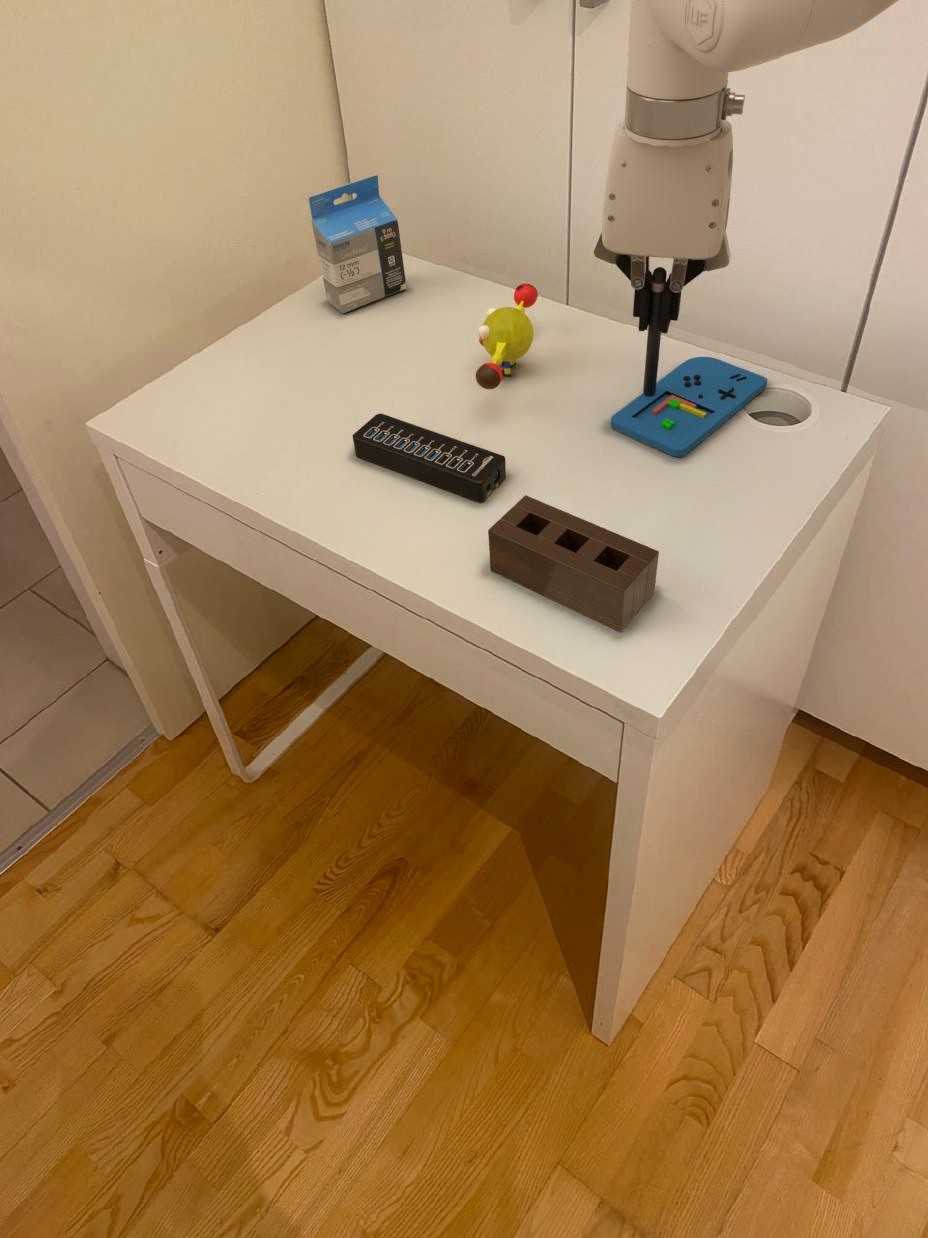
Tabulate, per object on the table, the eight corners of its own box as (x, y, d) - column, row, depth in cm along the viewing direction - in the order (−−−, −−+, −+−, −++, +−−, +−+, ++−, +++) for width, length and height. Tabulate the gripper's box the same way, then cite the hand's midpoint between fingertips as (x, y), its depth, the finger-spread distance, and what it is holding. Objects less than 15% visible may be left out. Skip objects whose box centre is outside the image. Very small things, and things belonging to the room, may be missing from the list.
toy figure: (502, 323, 106) (500, 264, 101) (551, 327, 104) (551, 268, 99) (458, 417, 94) (453, 356, 89) (513, 423, 93) (511, 362, 88)
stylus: (656, 392, 93) (668, 264, 84) (654, 400, 92) (666, 271, 83) (643, 391, 94) (653, 263, 84) (641, 398, 93) (652, 270, 83)
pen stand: (526, 535, 81) (525, 494, 78) (654, 592, 76) (659, 551, 73) (490, 570, 79) (487, 529, 75) (620, 632, 73) (624, 591, 70)
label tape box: (342, 315, 109) (323, 208, 100) (325, 301, 111) (306, 195, 102) (407, 290, 112) (395, 184, 103) (390, 277, 114) (376, 172, 105)
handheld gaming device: (770, 375, 93) (681, 449, 86) (768, 385, 94) (680, 459, 87) (698, 348, 97) (607, 416, 90) (697, 357, 98) (607, 426, 91)
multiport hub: (381, 431, 93) (378, 411, 91) (508, 476, 87) (507, 456, 85) (353, 455, 91) (350, 435, 89) (482, 504, 85) (480, 483, 83)
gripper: (781, 95, 75) (746, 311, 88) (585, 88, 78) (580, 297, 92) (774, 131, 70) (737, 355, 83) (565, 123, 73) (562, 338, 87)
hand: (655, 323), depth 87 cm, fingers closed on stylus, 1 cm apart
